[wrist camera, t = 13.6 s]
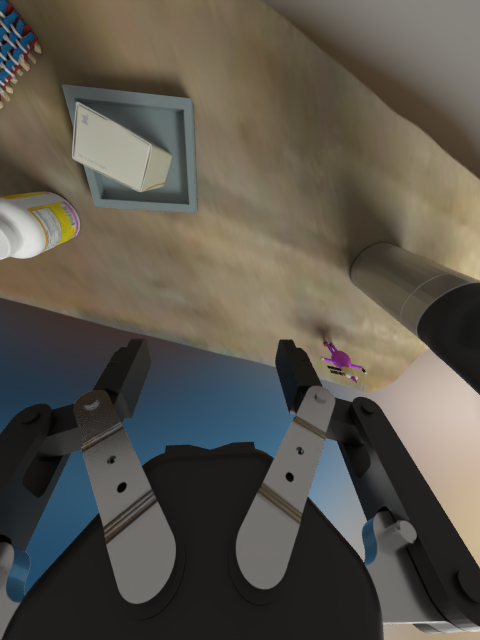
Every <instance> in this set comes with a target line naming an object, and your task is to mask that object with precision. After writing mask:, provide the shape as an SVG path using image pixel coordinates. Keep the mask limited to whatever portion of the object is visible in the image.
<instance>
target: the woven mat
mask: <svg viewBox="0 0 480 640" xmlns="http://www.w3.org/2000/svg"><path fill="white" fill-rule="evenodd" d="M13 9H14V7H13V6H12V5H11V4H10V3H9V2H6V1H5V0H0V100H1V96H2V97H3V98H5V99H6V100H7V101H9V100H10V97H9V96H8V95H7V94H6V93H5V92H4V91H3V90H4V89H6V91H7V92H9V93H12V94H13V88H12V87H11V86H10V84H9V82H10V81H12V82H13V83H14V84H16V83H17V81H18V80H17V79H16V77H15V75H14V74H15V73H16V72H17V73H18V74H19V75H20V76H21V75H22V74H23V72H22V71H21V69H20V68H22V67H23V68H24V69H25V70H26V71H28V70H29V69H30V65H29V64H28V63H27V56H28V57H29V58H30V60H31V61H32V62H33V63H34V64H35V62H36V60H35V58H34V57H33V56H32V54H31V53H30V51H31V49H32V48H34V50H35V51H36V52H38V53H40V54H41V47H40V45H39V44H38V43H37V42H36V41H37V39H38V38H37V36H36V35H35V34H34V33H32V32H30V31H31V27H30V26H29V25H26V26H25V25H24V23H23V22H22V20H23V19H22V17H21V16H20V15H19V14H18V13H16V12H15V11H13ZM12 56H13V57H12ZM2 107H3V102H1V101H0V109H1V108H2Z"/></svg>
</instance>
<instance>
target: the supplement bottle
mask: <svg viewBox="0 0 480 640" xmlns="http://www.w3.org/2000/svg"><path fill="white" fill-rule="evenodd" d="M79 229H80V221H79V217H78V215H77V213H76V211H75V209H74V208H73V207H72V206H71V204H70V203H69V202H67V201H66V200H65V199H64V198H62V197H60V196H59V195H57V194H54V193H51V192H44V191H43V192H32V193H24V194H16V195H8V196H0V260H1V259H4V258H7V257H15V258H30V257H34V256H36V255H38V254H40V253H42V252H44V251H46V250H49V249H51V248H53V247H55V246H57V245H59V244H61V243H64V242H66V241H68V240H70V239H72V238H74V237H75V236H76V235H77V234H78V232H79Z"/></svg>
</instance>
